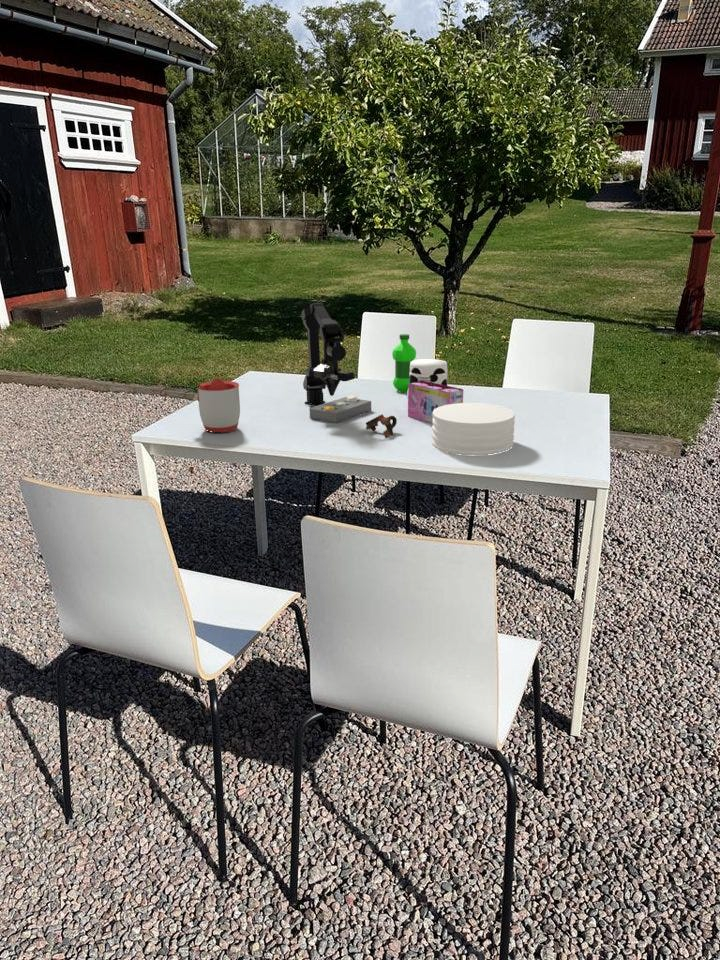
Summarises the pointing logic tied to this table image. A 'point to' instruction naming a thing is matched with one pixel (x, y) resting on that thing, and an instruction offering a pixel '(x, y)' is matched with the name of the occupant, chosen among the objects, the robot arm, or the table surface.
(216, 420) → the citrus juicer
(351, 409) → the button panel
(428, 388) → the gum box
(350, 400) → the cream button
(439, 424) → the plate stack
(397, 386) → the plastic bottle
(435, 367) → the milk container
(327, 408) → the amber button
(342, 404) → the sage button
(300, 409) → the table surface
